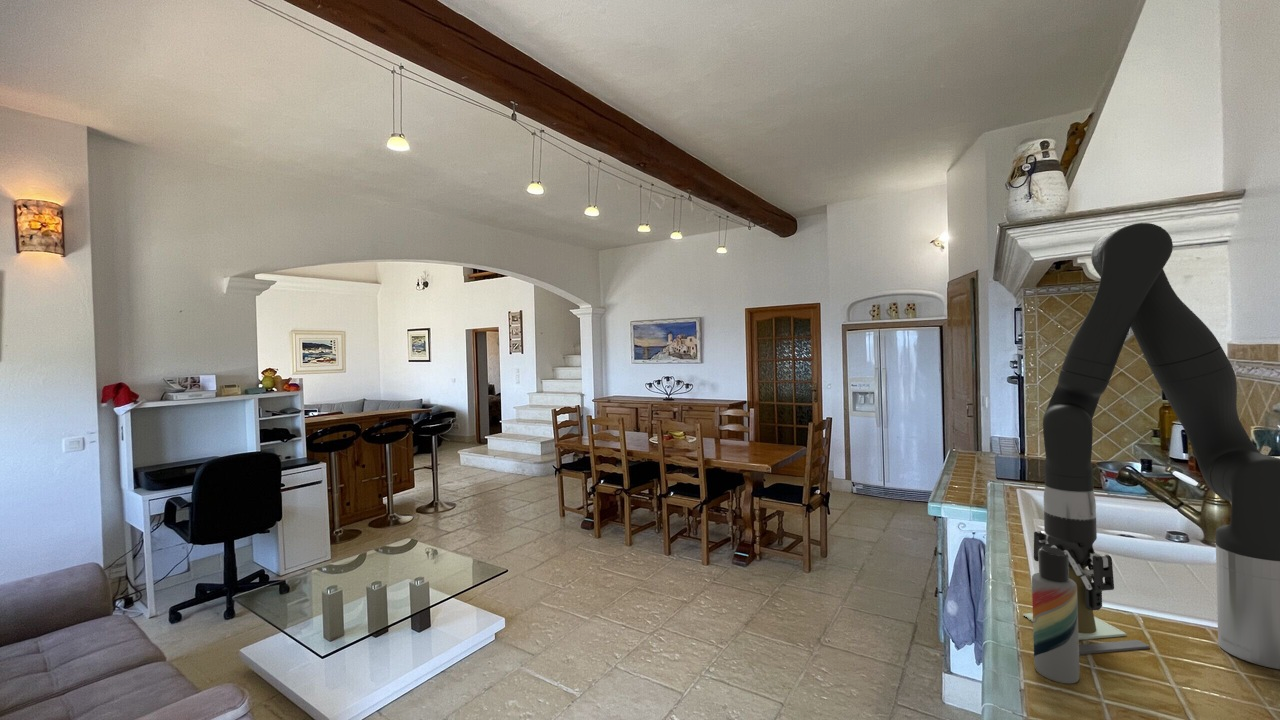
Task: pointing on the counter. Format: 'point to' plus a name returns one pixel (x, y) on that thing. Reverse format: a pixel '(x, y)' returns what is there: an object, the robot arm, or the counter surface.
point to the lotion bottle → (1055, 618)
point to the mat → (1101, 629)
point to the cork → (1083, 605)
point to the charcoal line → (1112, 646)
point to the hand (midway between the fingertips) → (1071, 598)
